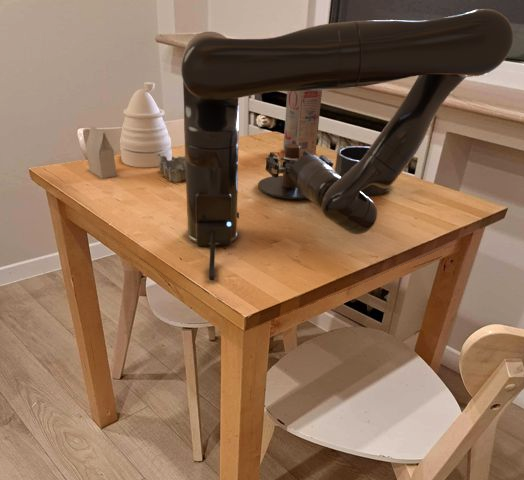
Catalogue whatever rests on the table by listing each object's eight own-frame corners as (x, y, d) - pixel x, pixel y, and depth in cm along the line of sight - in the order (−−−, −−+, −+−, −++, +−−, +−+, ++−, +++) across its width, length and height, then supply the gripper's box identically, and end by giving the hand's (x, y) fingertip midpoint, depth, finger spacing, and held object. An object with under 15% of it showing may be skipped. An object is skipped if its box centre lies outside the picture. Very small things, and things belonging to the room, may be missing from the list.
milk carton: (295, 157, 145) (302, 67, 132) (283, 150, 149) (289, 63, 136) (315, 154, 147) (324, 66, 134) (302, 148, 152) (310, 62, 139)
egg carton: (157, 169, 130) (156, 152, 128) (186, 167, 133) (185, 150, 130) (169, 183, 122) (168, 165, 120) (200, 180, 125) (199, 162, 123)
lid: (269, 203, 115) (272, 156, 109) (250, 181, 126) (251, 138, 120) (330, 199, 119) (335, 153, 113) (306, 178, 130) (310, 136, 124)
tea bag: (102, 178, 123) (96, 133, 117) (89, 170, 127) (83, 127, 121) (116, 175, 125) (111, 131, 119) (103, 168, 129) (98, 125, 123)
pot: (353, 201, 119) (358, 168, 114) (320, 174, 133) (323, 144, 129) (405, 197, 122) (412, 165, 118) (368, 172, 137) (373, 142, 132)
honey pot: (167, 151, 143) (163, 78, 132) (176, 166, 133) (172, 88, 122) (119, 153, 139) (111, 78, 129) (124, 168, 129) (116, 88, 119)
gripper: (349, 159, 107) (318, 138, 120) (283, 162, 103) (258, 139, 116) (343, 195, 112) (314, 171, 124) (280, 199, 108) (257, 174, 120)
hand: (287, 156), depth 120 cm, fingers open, 7 cm apart
